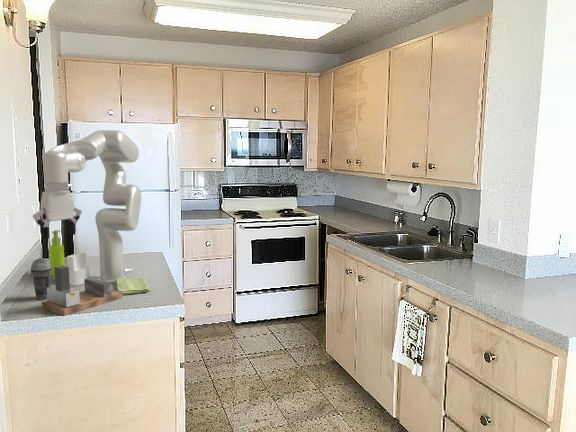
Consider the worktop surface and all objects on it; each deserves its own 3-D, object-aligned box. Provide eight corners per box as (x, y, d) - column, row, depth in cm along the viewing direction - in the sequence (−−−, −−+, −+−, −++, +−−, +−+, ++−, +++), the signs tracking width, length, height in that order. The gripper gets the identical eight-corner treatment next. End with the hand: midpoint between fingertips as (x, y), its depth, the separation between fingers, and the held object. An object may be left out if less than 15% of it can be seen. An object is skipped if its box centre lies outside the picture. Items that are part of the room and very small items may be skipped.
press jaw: (60, 297, 177) (58, 263, 175) (82, 304, 170) (80, 268, 168) (47, 300, 173) (45, 266, 171) (69, 308, 166) (67, 271, 164)
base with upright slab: (80, 285, 201) (79, 257, 199) (61, 283, 202) (60, 256, 201) (93, 279, 209) (92, 252, 208) (75, 278, 211) (73, 251, 209)
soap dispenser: (68, 272, 221) (65, 229, 218) (61, 276, 214) (59, 232, 211) (55, 272, 221) (52, 229, 218) (48, 276, 214) (45, 232, 211)
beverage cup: (48, 294, 188) (45, 244, 185) (57, 298, 184) (54, 247, 181) (29, 298, 183) (25, 247, 180) (37, 302, 178) (34, 250, 175)
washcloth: (116, 297, 186) (116, 289, 186) (114, 285, 203) (113, 278, 202) (151, 294, 192) (151, 286, 191) (146, 282, 208) (145, 275, 207)
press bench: (100, 291, 193) (99, 274, 192) (122, 297, 185) (122, 280, 184) (42, 307, 173) (41, 288, 172) (64, 315, 165) (63, 295, 164)
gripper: (73, 185, 175) (75, 231, 178) (26, 188, 161) (29, 238, 163) (85, 186, 171) (87, 233, 173) (38, 189, 157) (41, 241, 159)
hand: (59, 236), depth 168 cm, fingers open, 9 cm apart
